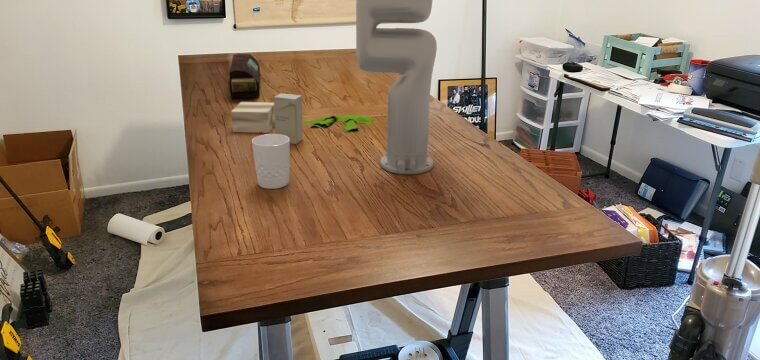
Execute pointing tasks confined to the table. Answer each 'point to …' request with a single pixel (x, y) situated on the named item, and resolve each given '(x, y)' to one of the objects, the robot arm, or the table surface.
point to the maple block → (253, 117)
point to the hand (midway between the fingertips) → (411, 7)
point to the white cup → (272, 160)
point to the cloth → (348, 126)
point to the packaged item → (244, 76)
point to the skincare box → (288, 116)
